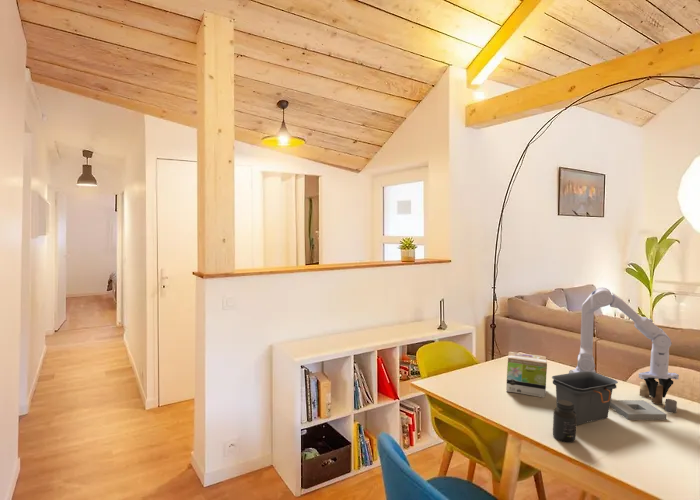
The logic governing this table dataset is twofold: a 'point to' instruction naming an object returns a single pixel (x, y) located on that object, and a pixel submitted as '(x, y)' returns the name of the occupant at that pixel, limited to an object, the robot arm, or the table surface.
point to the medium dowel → (644, 389)
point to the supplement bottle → (564, 421)
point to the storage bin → (586, 394)
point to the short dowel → (670, 405)
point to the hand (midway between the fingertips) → (657, 396)
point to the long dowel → (658, 395)
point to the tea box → (526, 374)
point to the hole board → (642, 413)
